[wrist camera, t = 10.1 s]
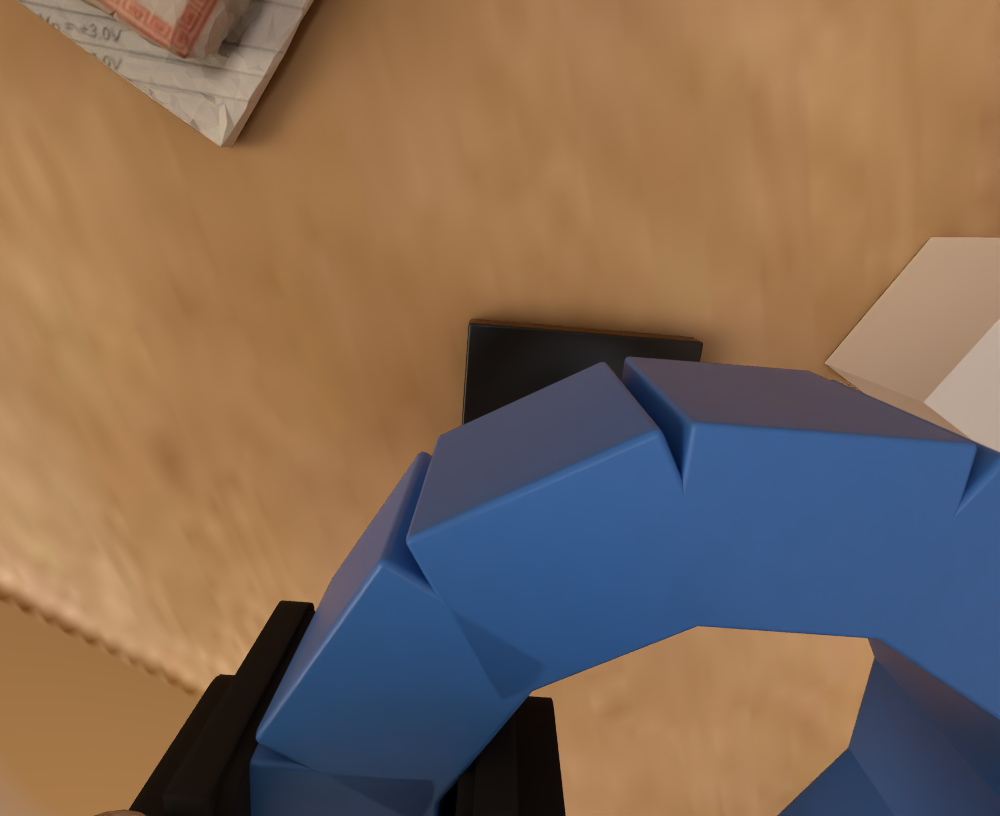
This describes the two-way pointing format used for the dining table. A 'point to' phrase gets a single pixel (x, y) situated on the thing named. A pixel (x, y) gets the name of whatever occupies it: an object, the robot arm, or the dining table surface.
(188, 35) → the packaged product
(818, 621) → the tape
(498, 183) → the dining table surface
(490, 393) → the peg stand
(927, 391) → the white cube
